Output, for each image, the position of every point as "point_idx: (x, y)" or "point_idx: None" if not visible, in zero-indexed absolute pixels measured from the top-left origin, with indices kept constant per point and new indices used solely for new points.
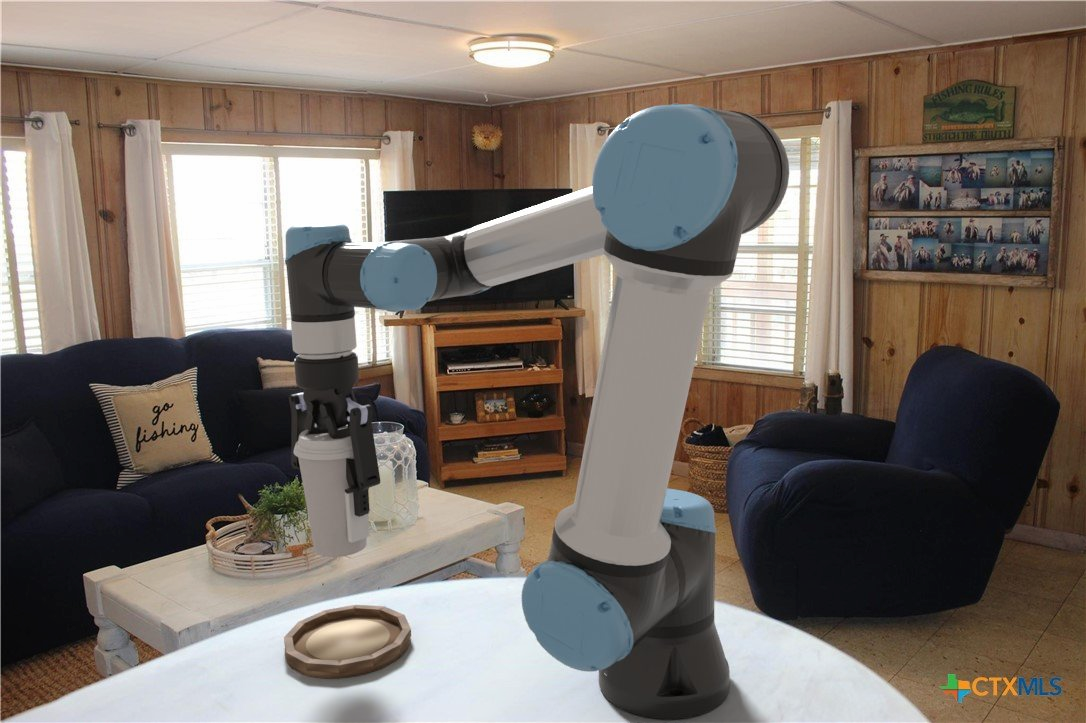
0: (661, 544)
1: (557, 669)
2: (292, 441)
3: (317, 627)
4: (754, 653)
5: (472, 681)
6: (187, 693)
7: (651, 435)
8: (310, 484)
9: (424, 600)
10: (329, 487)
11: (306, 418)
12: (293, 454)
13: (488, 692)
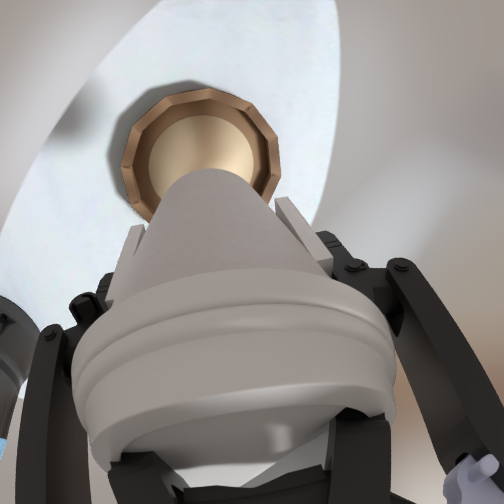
0: None
1: (43, 295)
2: (446, 319)
3: (260, 153)
4: None
5: (54, 233)
6: None
7: None
8: (188, 231)
9: None
10: (128, 271)
11: (387, 479)
12: (420, 287)
13: (33, 235)
